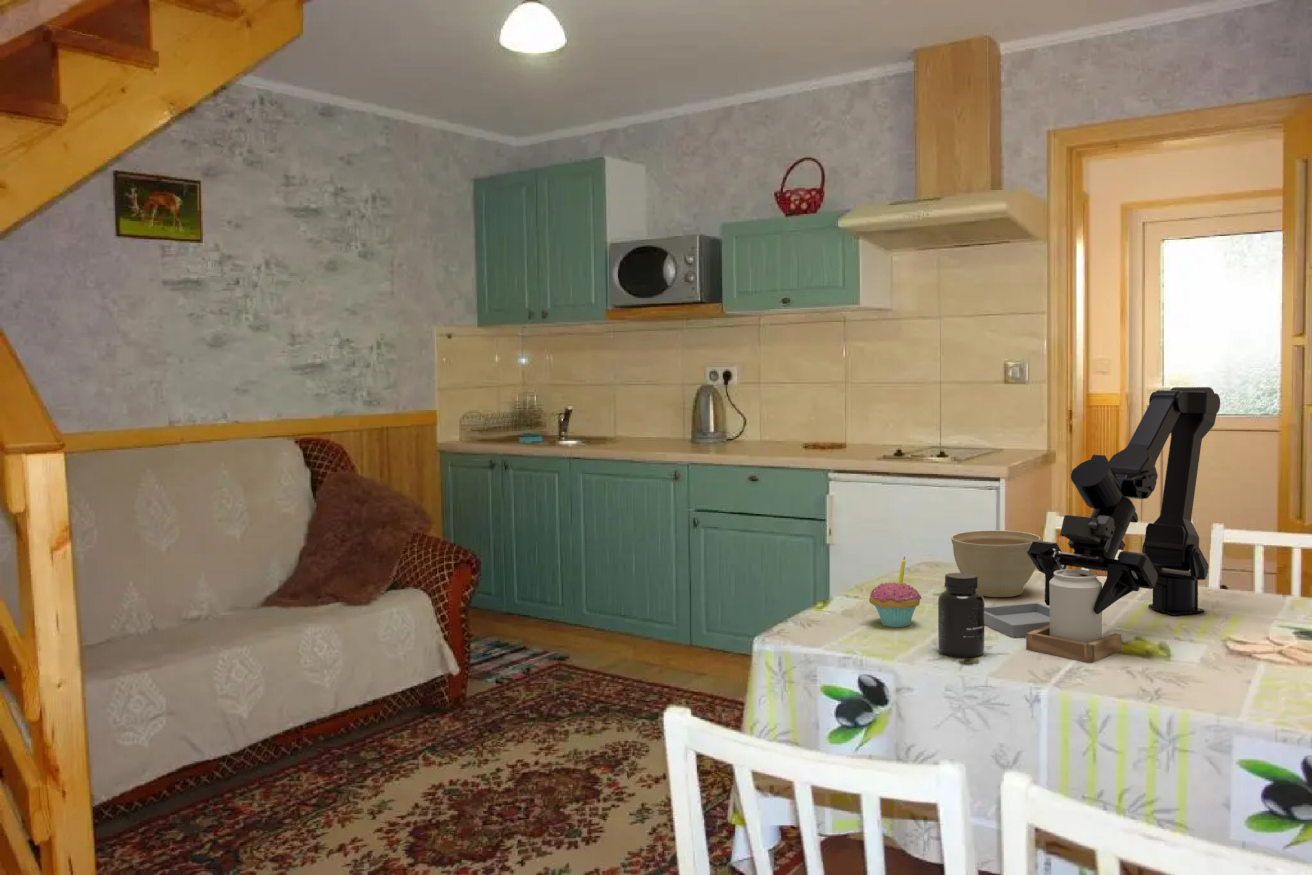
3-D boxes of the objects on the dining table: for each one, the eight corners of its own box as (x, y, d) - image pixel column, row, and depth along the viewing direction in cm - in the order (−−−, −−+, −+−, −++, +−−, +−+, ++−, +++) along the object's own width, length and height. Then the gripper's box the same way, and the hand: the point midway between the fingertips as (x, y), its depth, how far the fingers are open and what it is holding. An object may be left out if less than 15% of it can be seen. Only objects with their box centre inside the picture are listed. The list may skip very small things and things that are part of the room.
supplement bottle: (978, 660, 153) (977, 581, 152) (932, 655, 157) (931, 577, 156) (989, 649, 159) (989, 572, 158) (945, 644, 162) (944, 569, 162)
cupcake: (929, 622, 176) (929, 553, 175) (905, 633, 170) (904, 561, 169) (885, 615, 182) (884, 548, 181) (860, 625, 176) (858, 556, 175)
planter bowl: (968, 580, 208) (967, 527, 207) (1050, 588, 198) (1050, 533, 197) (939, 596, 195) (939, 540, 194) (1026, 606, 185) (1026, 546, 184)
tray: (1038, 613, 180) (1038, 602, 180) (1082, 630, 167) (1082, 618, 167) (972, 619, 177) (972, 607, 177) (1013, 637, 165) (1013, 625, 165)
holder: (1057, 637, 164) (1057, 622, 164) (1121, 650, 156) (1121, 634, 156) (1026, 648, 158) (1026, 633, 158) (1090, 662, 150) (1090, 646, 150)
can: (1107, 656, 153) (1107, 577, 152) (1054, 655, 154) (1053, 576, 154) (1096, 642, 160) (1096, 567, 159) (1045, 641, 162) (1045, 566, 161)
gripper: (1032, 490, 165) (994, 568, 159) (1148, 500, 151) (1112, 586, 145) (1058, 533, 171) (1022, 609, 165) (1172, 545, 157) (1138, 630, 150)
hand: (1070, 608), depth 156 cm, fingers closed on can, 7 cm apart
